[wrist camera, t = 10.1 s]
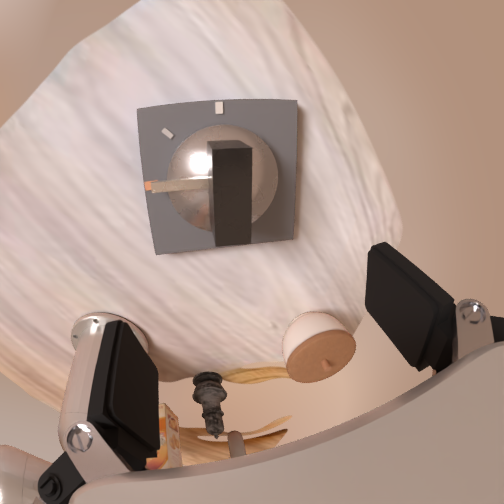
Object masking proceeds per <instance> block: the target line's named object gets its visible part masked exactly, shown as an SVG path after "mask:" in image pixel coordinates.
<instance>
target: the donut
mask: <svg viewBox="0 0 504 504" xmlns="http://www.w3.org/2000/svg"><path fill="white" fill-rule="evenodd" d="M228 445H229V451H230V457H231V458H235V457H240V456H244V455H246V451H245V445H244V441H243V438H242V435H241V433H240V432H238V431H231V432H230V433H229V434H228Z"/></svg>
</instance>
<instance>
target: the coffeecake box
mask: <svg viewBox="0 0 504 504" xmlns="http://www.w3.org/2000/svg"><path fill="white" fill-rule="evenodd" d="M159 428H160V449H159V450H157V457H156V458H146V460H147V464H146V465H147V466H148V467H149V468H150V469H151V470H157V469H167V468H176V467H183V466H182V457H181V447H180V436H179V424H178V417H177V416H176V415H175V414H174V413H173V412H172V411H171V410H170V408H169V407H168V406H167V405H166V404H165V403H163V404H159Z"/></svg>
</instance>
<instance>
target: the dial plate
mask: <svg viewBox="0 0 504 504" xmlns="http://www.w3.org/2000/svg"><path fill="white" fill-rule="evenodd" d="M137 120H138V133H139V144H140V154H141V163H142V172H143V180H144V187H145V195H146V201H147V208H148V214H149V220H150V226H151V232H152V238H153V243H154V248H155V253H156V255H161V254H169V253H177V252H186V251H194V250H203V249H211V248H220V247H216V246H215V242H214V237H213V232H210V231H205V230H202V229H199V228H197V227H195V226H193V225H191V224H190V223H188V222H187V221H186V220H185V219H183V218H182V217H181V216H180V214H179V213H178V212H177V211H176V209H175V208H174V206H173V204H172V202H171V200H170V197H169V194H168V192H159V193H152V191H151V182H155V181H165V180H167V173H168V168H169V164H170V161H171V159H172V157H173V154H174V153H175V151H176V149H177V148H178V147H179V145H180V144H181V143H182V142H183V141H184V140H185V139H186V138H187V137H188V136H190V135H191V134H192V133H194V132H196V131H198V130H199V129H202V128H205V127H208V126H212V125H219V124H227V125H234V126H238V127H241V128H244V129H247V130H249V131H251V132H253V133H254V134H256V135H257V136H259V137H260V138H261V139H262V140H263V141H264V142H265V143H266V144H267V145H268V147H269V148H270V150H271V151H272V153H273V155H274V158H275V160H276V164H277V169H278V184H277V189H276V193H275V195H274V198H273V200H272V202H271V204H270V205H269V207H268V208H267V210H266V211H265V212H264V213H263V214H262V215H261V216H260V217H259V218H258V219H257V220H256V221H254V222H253V223H252V234H251V244H255V243H264V242H273V241H282V240H291V239H293V234H294V215H295V191H296V160H297V100H280V99H233V100H211V101H197V102H186V103H176V104H168V105H160V106H153V107H146V108H140V109H137ZM244 245H246V244H244ZM232 246H237V245H232ZM221 247H229V246H221Z"/></svg>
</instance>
